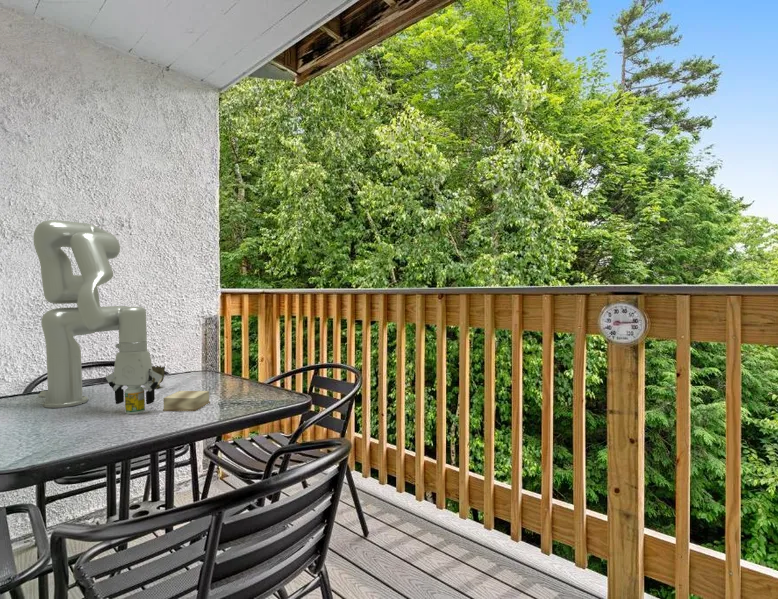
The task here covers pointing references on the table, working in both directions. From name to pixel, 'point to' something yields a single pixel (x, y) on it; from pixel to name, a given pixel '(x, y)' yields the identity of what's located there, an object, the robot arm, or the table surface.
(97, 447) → the table surface
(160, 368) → the cup
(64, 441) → the table surface
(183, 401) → the base block
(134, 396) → the supplement bottle
